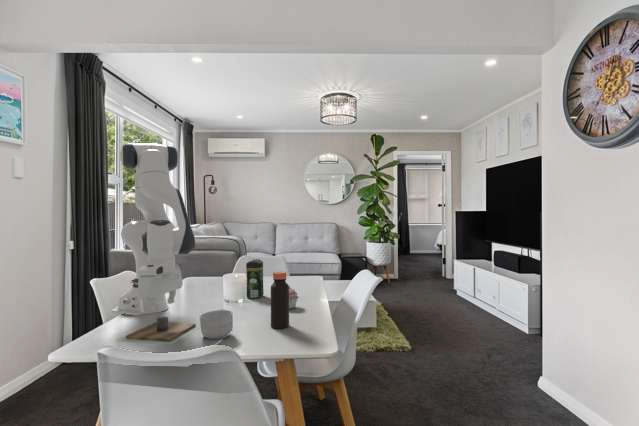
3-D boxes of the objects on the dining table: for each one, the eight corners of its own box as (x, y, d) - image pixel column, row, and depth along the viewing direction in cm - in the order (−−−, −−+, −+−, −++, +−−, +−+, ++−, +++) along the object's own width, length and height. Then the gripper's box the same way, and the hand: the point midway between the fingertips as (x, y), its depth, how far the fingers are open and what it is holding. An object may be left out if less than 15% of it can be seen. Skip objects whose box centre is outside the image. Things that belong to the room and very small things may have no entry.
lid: (126, 338, 120) (126, 323, 120) (156, 324, 136) (156, 310, 136) (169, 341, 117) (169, 326, 117) (195, 326, 133) (195, 312, 133)
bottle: (284, 330, 130) (284, 274, 130) (267, 328, 132) (267, 273, 132) (292, 324, 137) (291, 271, 136) (275, 322, 139) (275, 270, 139)
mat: (116, 342, 119) (116, 340, 119) (154, 323, 138) (154, 322, 138) (171, 346, 115) (171, 344, 115) (203, 326, 135) (203, 325, 135)
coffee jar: (249, 294, 187) (249, 258, 187) (265, 294, 186) (264, 258, 186) (244, 299, 177) (244, 261, 177) (260, 299, 176) (260, 261, 176)
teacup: (223, 343, 117) (223, 318, 117) (193, 341, 119) (193, 317, 119) (241, 329, 131) (241, 307, 131) (213, 328, 133) (213, 306, 133)
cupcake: (299, 310, 157) (299, 287, 156) (277, 310, 156) (277, 287, 156) (298, 304, 166) (298, 282, 166) (278, 305, 165) (278, 283, 165)
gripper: (170, 262, 137) (172, 299, 137) (133, 271, 117) (135, 314, 117) (186, 262, 136) (187, 299, 136) (151, 271, 116) (152, 314, 116)
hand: (163, 306), depth 126 cm, fingers open, 8 cm apart
